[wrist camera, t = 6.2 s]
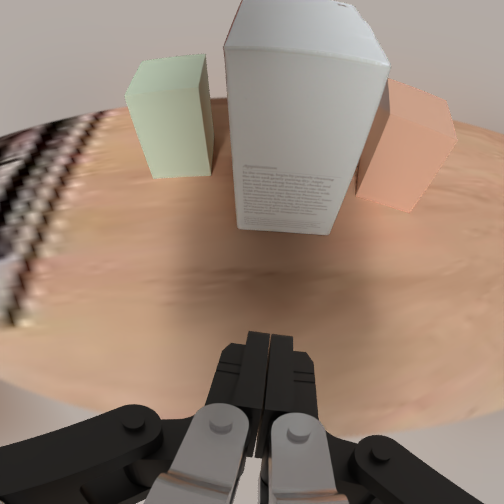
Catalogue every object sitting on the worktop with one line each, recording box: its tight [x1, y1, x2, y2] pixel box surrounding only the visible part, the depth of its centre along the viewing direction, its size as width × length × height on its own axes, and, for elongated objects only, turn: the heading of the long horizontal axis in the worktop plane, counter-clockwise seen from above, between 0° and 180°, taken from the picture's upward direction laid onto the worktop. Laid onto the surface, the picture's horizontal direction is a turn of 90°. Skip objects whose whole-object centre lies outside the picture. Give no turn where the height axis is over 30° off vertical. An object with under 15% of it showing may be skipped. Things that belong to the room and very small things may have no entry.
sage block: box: [124, 54, 214, 179], centre depth 20 cm, size 4×4×8 cm
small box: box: [223, 0, 391, 235], centre depth 16 cm, size 8×6×13 cm
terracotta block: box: [356, 78, 458, 213], centre depth 19 cm, size 4×4×8 cm
